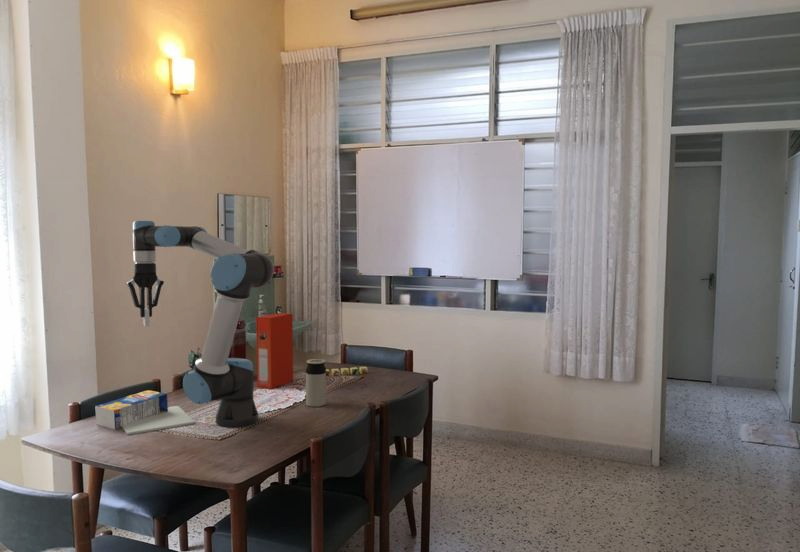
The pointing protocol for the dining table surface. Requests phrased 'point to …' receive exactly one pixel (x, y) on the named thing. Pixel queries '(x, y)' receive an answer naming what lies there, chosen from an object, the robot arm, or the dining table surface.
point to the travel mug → (315, 383)
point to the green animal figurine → (193, 358)
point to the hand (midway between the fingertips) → (146, 325)
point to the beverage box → (131, 409)
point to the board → (159, 421)
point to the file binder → (274, 350)
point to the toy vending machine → (238, 345)
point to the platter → (347, 371)
